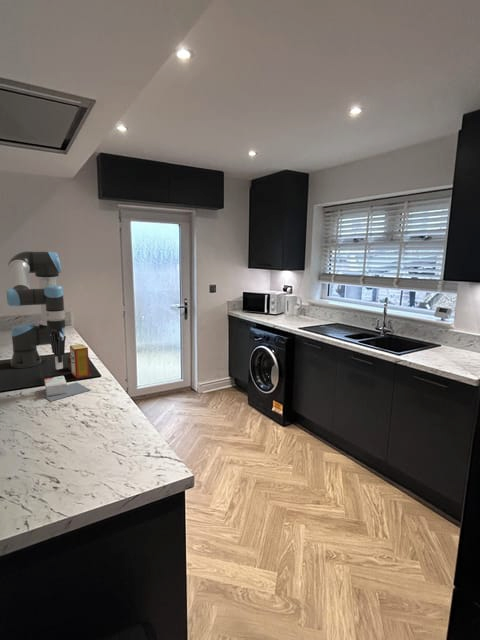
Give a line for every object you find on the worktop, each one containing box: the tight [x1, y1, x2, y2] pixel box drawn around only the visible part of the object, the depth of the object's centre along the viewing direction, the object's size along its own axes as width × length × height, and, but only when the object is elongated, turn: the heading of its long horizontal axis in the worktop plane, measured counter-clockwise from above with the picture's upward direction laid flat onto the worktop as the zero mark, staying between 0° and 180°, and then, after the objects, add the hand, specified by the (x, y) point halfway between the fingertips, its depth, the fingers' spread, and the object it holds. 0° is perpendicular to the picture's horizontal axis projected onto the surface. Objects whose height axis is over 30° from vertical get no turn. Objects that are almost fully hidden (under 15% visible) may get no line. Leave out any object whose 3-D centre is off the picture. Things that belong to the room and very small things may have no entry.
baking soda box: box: [69, 343, 90, 379], centre depth 188 cm, size 10×6×16 cm
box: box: [67, 356, 71, 371], centre depth 198 cm, size 6×6×7 cm
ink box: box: [44, 375, 68, 396], centre depth 165 cm, size 9×5×12 cm
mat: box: [38, 382, 91, 402], centre depth 166 cm, size 14×18×1 cm
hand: (59, 368), depth 166 cm, fingers closed
